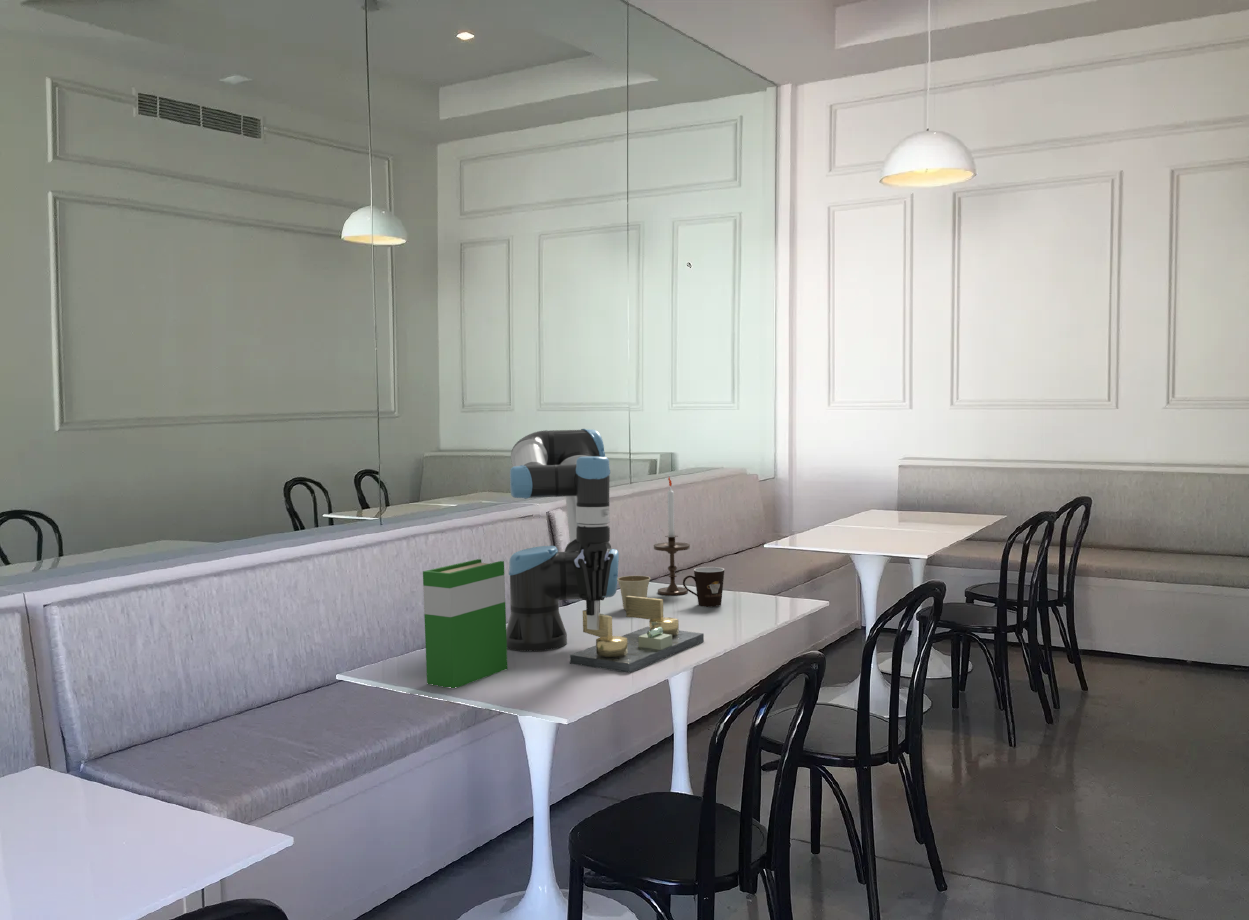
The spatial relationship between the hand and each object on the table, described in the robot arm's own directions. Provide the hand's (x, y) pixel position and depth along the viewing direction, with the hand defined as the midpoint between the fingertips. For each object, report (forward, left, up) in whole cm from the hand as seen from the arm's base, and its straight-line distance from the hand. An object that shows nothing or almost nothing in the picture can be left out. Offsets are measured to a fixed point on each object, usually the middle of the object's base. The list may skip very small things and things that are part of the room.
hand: (593, 629), depth 238 cm
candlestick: (+33, +73, -7) cm, 81 cm away
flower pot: (+18, +53, -7) cm, 57 cm away
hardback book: (-28, -7, -7) cm, 30 cm away
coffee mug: (+38, +53, -7) cm, 66 cm away
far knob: (+16, +15, -5) cm, 22 cm away
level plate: (+11, +4, -7) cm, 14 cm away
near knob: (+2, -1, -5) cm, 5 cm away
